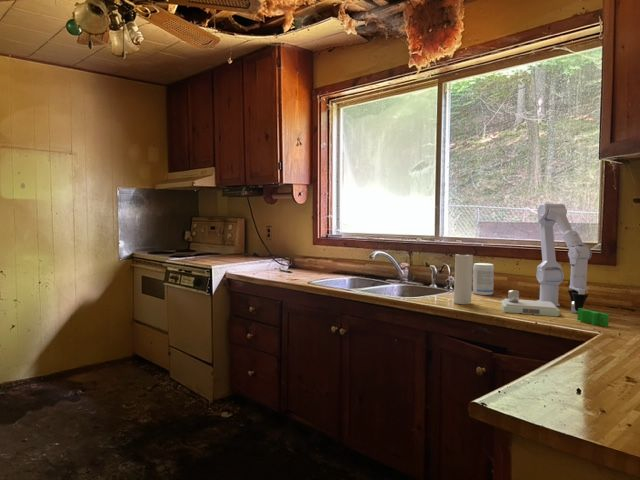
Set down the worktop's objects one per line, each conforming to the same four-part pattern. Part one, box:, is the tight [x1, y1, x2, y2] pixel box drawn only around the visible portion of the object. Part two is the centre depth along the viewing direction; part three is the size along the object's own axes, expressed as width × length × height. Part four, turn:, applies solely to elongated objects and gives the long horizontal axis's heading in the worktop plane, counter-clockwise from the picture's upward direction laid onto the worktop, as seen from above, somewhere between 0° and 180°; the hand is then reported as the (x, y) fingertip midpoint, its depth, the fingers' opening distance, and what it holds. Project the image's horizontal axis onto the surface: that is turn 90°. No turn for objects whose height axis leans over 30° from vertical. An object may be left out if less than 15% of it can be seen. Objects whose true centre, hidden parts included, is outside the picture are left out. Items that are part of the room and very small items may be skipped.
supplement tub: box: [472, 262, 495, 296], centre depth 229 cm, size 10×10×15 cm
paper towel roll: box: [453, 253, 474, 305], centre depth 203 cm, size 7×6×21 cm
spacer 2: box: [570, 301, 578, 315], centre depth 188 cm, size 4×4×4 cm
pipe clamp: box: [576, 308, 610, 328], centre depth 171 cm, size 11×4×5 cm, turn 25°
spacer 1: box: [507, 289, 520, 303], centre depth 193 cm, size 4×4×4 cm
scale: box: [500, 298, 560, 317], centre depth 191 cm, size 15×20×3 cm
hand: (576, 309), depth 189 cm, fingers open, 6 cm apart
